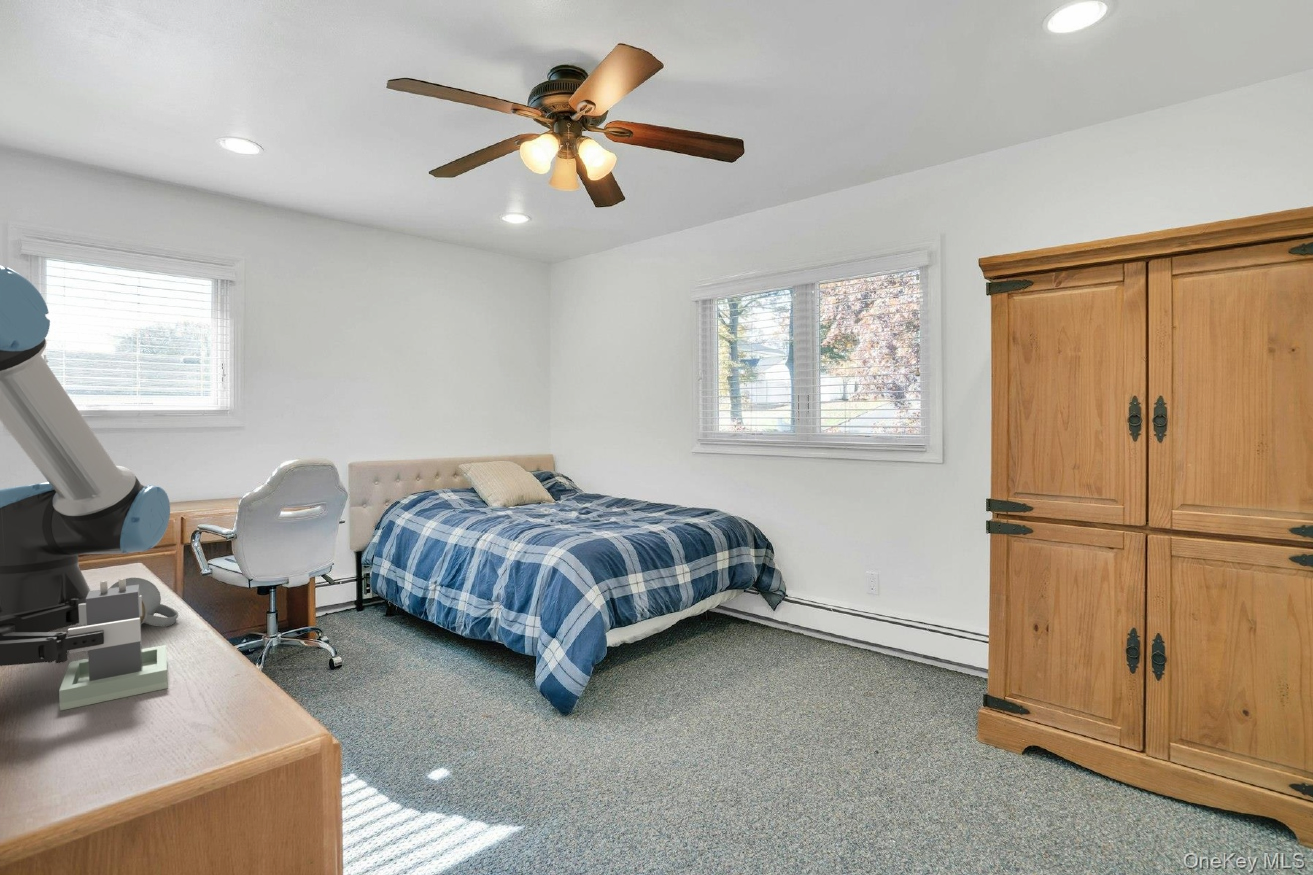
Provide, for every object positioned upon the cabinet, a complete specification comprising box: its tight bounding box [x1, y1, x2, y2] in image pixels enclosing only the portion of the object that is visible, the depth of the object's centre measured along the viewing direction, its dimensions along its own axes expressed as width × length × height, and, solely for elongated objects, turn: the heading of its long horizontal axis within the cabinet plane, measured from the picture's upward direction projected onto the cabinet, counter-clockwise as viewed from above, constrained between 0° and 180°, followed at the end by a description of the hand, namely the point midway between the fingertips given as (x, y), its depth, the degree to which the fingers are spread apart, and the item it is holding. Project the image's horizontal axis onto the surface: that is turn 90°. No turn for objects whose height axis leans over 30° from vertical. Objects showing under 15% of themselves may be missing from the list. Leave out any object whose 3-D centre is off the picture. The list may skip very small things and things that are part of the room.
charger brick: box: [86, 578, 143, 681], centre depth 84 cm, size 5×5×12 cm
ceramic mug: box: [109, 577, 179, 627], centre depth 108 cm, size 11×8×8 cm
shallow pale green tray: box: [58, 644, 169, 712], centre depth 85 cm, size 12×10×2 cm
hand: (141, 616), depth 86 cm, fingers open, 13 cm apart
